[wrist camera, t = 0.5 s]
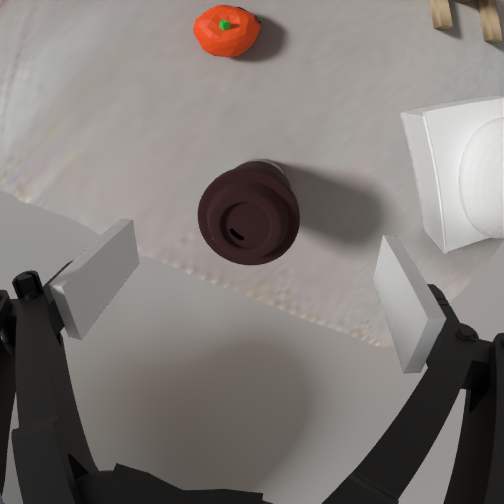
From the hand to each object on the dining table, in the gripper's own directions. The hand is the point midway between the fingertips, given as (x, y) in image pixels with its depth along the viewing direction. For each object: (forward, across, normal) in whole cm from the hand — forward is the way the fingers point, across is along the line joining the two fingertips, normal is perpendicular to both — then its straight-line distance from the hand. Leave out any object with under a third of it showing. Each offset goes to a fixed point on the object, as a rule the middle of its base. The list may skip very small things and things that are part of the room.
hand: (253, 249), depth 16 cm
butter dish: (+28, +27, +3) cm, 39 cm away
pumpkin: (+28, -6, +16) cm, 33 cm away
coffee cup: (+27, -2, -4) cm, 28 cm away
